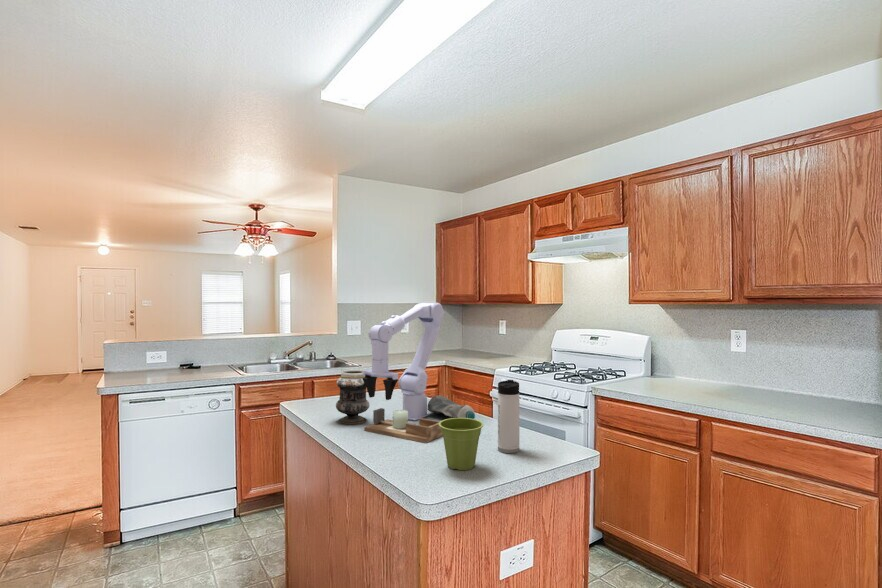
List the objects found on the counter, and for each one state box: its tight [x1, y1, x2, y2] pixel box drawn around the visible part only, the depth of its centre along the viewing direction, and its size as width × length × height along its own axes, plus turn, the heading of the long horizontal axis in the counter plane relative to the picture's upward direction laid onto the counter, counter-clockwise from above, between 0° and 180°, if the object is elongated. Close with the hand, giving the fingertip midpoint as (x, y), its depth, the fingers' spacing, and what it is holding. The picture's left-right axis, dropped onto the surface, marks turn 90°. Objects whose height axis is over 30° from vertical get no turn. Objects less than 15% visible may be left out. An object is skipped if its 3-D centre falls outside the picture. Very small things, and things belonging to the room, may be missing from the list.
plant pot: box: [439, 417, 484, 471], centre depth 123 cm, size 12×12×11 cm
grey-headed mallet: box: [372, 407, 409, 429], centre depth 157 cm, size 5×13×5 cm, turn 57°
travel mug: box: [497, 379, 520, 454], centre depth 136 cm, size 6×7×20 cm
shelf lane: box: [364, 417, 443, 444], centre depth 154 cm, size 12×25×4 cm, turn 57°
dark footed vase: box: [335, 369, 370, 425], centre depth 168 cm, size 12×12×18 cm
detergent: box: [427, 395, 476, 419], centre depth 172 cm, size 13×7×25 cm
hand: (380, 398), depth 163 cm, fingers open, 7 cm apart
